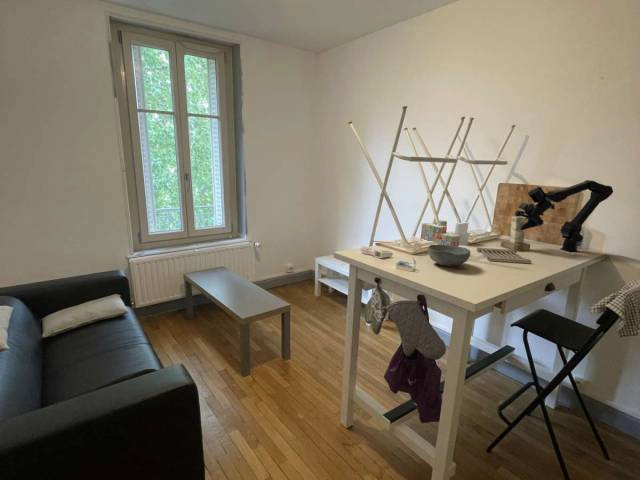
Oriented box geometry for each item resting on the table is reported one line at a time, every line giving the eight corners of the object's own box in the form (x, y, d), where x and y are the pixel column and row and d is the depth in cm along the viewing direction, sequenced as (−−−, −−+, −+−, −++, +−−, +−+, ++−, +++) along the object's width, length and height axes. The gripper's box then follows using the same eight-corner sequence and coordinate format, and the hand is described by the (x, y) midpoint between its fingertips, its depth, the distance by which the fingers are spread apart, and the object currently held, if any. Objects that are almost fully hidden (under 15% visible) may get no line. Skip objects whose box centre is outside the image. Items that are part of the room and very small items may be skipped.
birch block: (518, 241, 189) (521, 216, 187) (523, 242, 184) (526, 217, 182) (509, 241, 190) (511, 216, 187) (514, 243, 185) (516, 217, 182)
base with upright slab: (463, 245, 191) (465, 224, 188) (448, 242, 197) (450, 222, 195) (470, 243, 196) (473, 223, 193) (456, 240, 203) (458, 220, 200)
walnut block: (515, 246, 194) (516, 240, 193) (529, 251, 184) (530, 244, 183) (500, 247, 192) (501, 240, 191) (513, 251, 182) (514, 244, 182)
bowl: (465, 261, 158) (467, 245, 157) (471, 273, 142) (474, 254, 140) (425, 257, 163) (427, 241, 161) (426, 268, 146) (428, 250, 145)
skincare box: (445, 241, 198) (447, 221, 196) (439, 242, 197) (441, 221, 194) (437, 239, 204) (440, 219, 201) (432, 239, 203) (434, 219, 200)
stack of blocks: (457, 253, 174) (461, 229, 171) (449, 254, 171) (452, 230, 168) (427, 243, 192) (430, 222, 190) (419, 244, 190) (421, 223, 187)
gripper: (521, 196, 191) (498, 214, 193) (541, 199, 172) (516, 220, 175) (532, 210, 192) (510, 228, 195) (554, 215, 174) (529, 235, 177)
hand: (515, 227), depth 185 cm, fingers open, 9 cm apart
